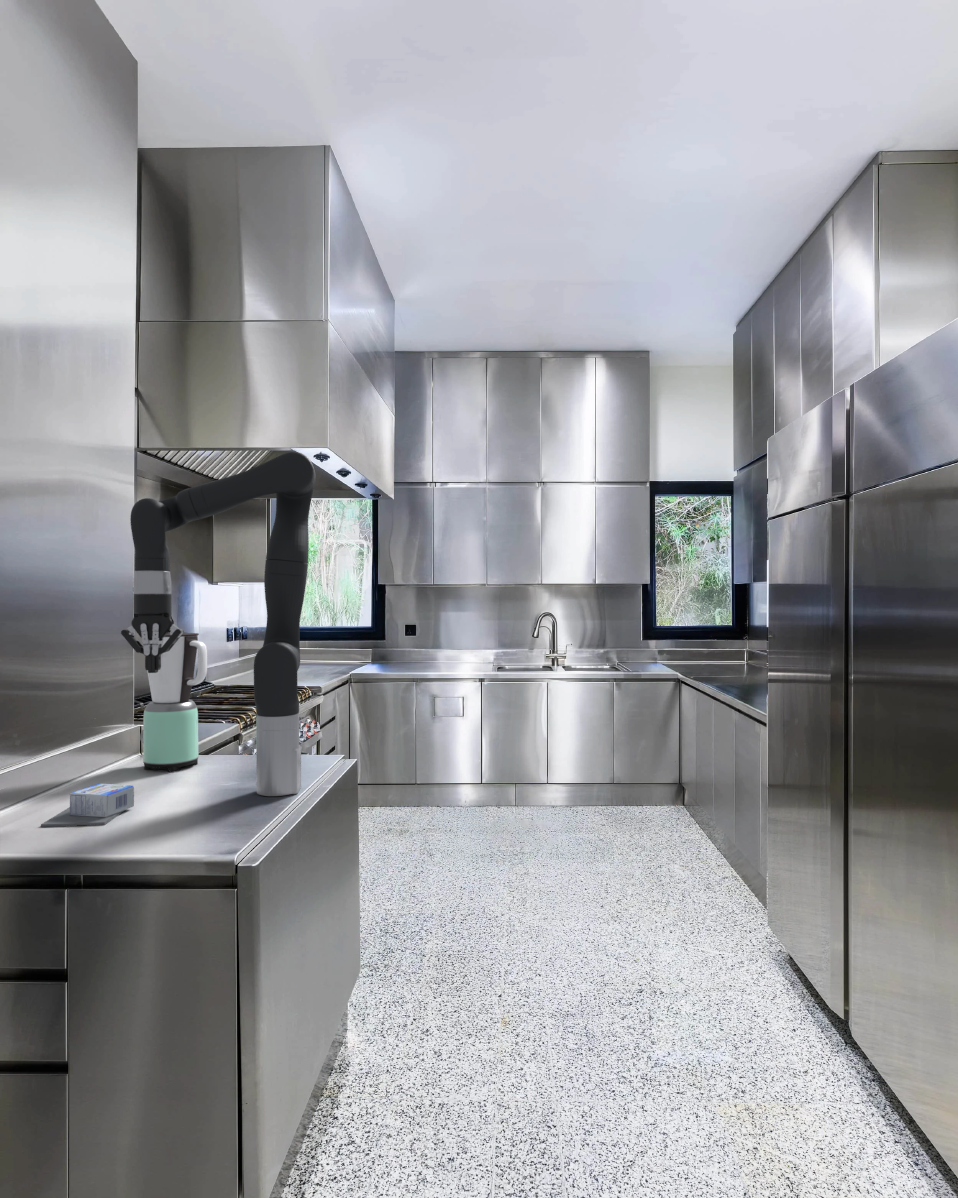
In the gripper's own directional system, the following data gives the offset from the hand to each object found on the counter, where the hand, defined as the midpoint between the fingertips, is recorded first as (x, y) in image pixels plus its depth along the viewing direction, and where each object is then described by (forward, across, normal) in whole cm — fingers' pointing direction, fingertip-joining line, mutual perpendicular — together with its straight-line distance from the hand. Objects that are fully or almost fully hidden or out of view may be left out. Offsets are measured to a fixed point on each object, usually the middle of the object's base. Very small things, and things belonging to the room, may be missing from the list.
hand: (152, 672), depth 157 cm
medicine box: (+24, +2, +12) cm, 27 cm away
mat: (+27, +8, +13) cm, 31 cm away
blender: (+27, +5, -30) cm, 41 cm away
